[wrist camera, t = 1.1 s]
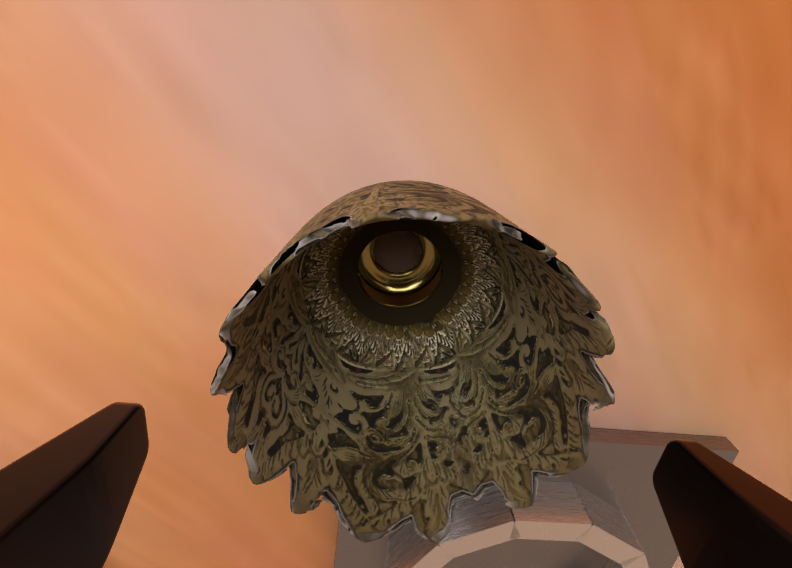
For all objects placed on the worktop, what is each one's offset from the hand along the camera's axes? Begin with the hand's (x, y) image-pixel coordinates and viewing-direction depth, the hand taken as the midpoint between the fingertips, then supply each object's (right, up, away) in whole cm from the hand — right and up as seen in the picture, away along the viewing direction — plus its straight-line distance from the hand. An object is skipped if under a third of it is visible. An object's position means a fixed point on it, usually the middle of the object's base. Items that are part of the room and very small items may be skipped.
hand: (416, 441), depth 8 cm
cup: (0, +4, +8) cm, 9 cm away
